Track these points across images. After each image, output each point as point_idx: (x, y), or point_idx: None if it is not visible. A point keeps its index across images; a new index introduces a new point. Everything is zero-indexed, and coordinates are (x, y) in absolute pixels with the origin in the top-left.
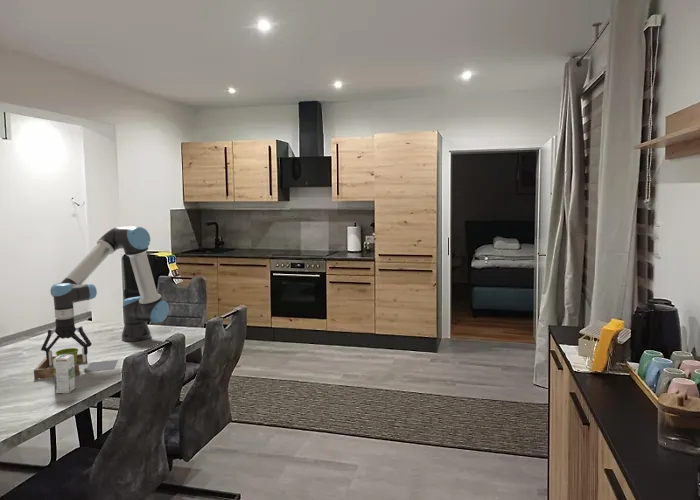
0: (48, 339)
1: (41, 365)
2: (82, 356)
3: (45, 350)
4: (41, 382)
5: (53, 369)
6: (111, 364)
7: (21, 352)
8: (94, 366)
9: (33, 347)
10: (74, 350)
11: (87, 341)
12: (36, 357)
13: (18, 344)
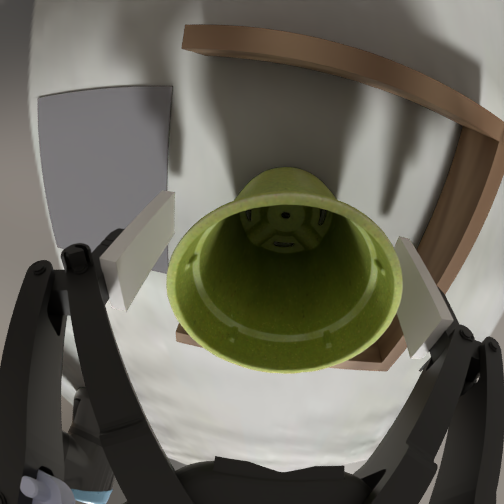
0: (486, 441)
1: (459, 237)
2: (152, 215)
3: (468, 341)
4: (444, 20)
5: (406, 67)
6: (57, 183)
7: (385, 434)
8: (128, 184)
9: (352, 448)
10: (222, 334)
11: (23, 306)
12: (374, 408)
13: (369, 457)
